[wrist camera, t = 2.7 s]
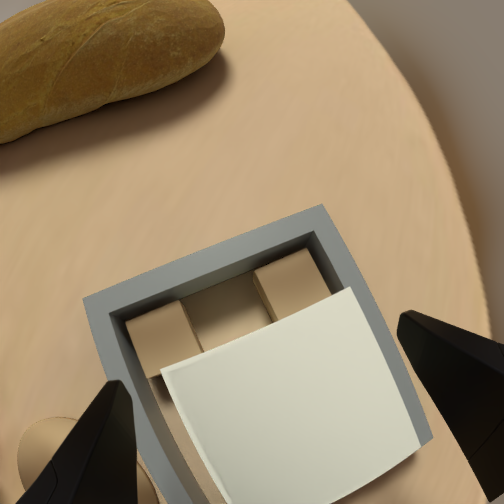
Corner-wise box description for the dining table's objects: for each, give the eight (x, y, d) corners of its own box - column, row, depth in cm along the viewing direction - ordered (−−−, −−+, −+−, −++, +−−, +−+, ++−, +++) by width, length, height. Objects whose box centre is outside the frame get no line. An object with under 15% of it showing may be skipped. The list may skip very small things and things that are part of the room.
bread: (233, 104, 22) (235, -9, 13) (-67, 187, 19) (-114, 140, 9) (217, 14, 28) (217, -55, 19) (-17, 83, 25) (-43, 37, 15)
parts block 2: (322, 305, 17) (333, 298, 15) (275, 328, 16) (280, 324, 14) (298, 259, 18) (306, 247, 16) (252, 280, 17) (254, 270, 15)
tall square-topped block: (312, 402, 15) (421, 447, 5) (240, 434, 14) (248, 536, 4) (280, 334, 16) (350, 286, 6) (207, 365, 15) (159, 369, 5)
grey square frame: (410, 431, 14) (433, 437, 12) (203, 528, 12) (199, 549, 9) (311, 223, 18) (322, 203, 16) (101, 307, 16) (82, 298, 14)
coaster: (190, 541, 11) (189, 545, 11) (66, 550, 9) (64, 552, 9) (112, 400, 14) (109, 401, 14) (1, 428, 12) (-3, 429, 12)
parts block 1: (207, 357, 16) (203, 356, 14) (156, 376, 15) (146, 378, 13) (185, 306, 16) (178, 299, 15) (137, 326, 16) (125, 322, 14)
